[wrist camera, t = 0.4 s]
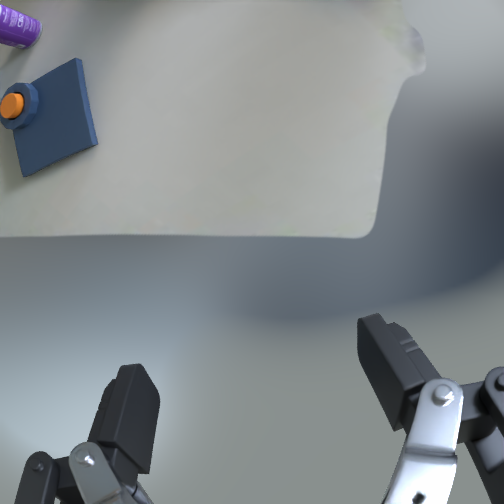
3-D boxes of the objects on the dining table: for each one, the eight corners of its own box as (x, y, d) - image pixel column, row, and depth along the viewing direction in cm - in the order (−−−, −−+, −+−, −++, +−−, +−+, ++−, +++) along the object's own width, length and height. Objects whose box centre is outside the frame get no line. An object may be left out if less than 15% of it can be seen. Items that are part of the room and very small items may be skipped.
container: (46, 33, 24) (-21, 7, 10) (23, 55, 25) (-47, 41, 11) (37, 14, 22) (-25, -13, 9) (15, 37, 23) (-51, 19, 9)
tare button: (6, 100, 24) (-2, 100, 23) (22, 89, 24) (15, 88, 23) (9, 121, 26) (1, 122, 24) (26, 111, 26) (18, 111, 24)
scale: (11, 97, 27) (-3, 96, 24) (81, 56, 27) (68, 50, 23) (27, 176, 32) (12, 181, 28) (98, 144, 31) (86, 145, 28)
